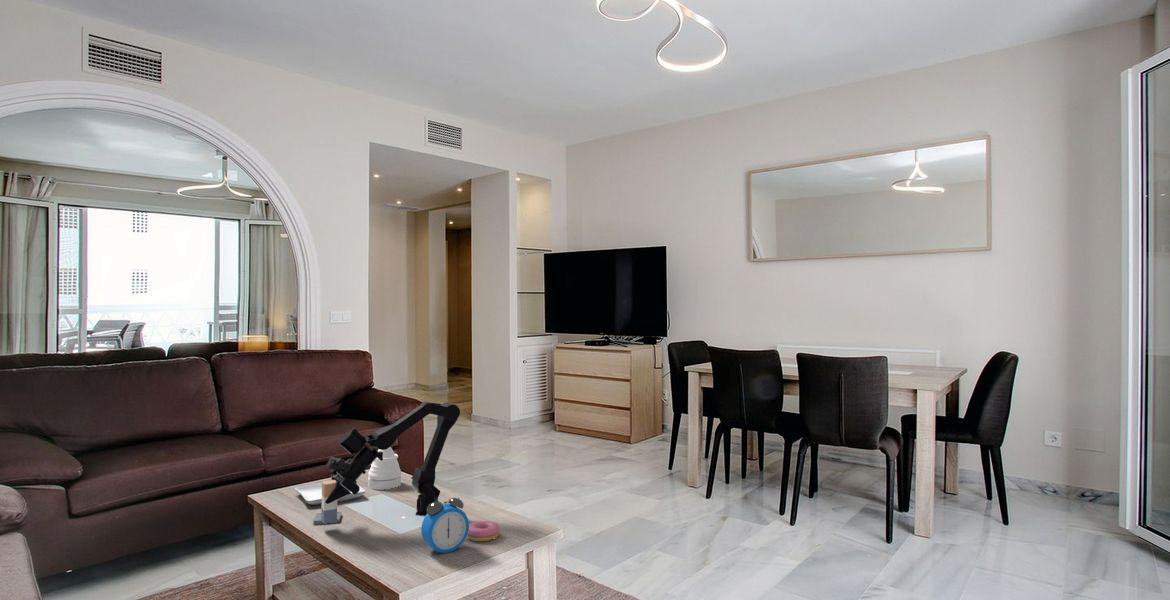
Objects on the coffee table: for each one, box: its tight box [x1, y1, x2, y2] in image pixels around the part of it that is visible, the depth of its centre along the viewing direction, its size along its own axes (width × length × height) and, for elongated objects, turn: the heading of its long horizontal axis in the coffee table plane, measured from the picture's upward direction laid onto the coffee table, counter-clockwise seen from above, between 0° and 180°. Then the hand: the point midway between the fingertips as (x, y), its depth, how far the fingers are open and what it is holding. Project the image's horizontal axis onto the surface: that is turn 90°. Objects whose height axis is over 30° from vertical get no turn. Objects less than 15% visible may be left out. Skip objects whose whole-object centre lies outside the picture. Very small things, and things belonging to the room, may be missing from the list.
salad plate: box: [294, 482, 366, 506], centre depth 238 cm, size 21×21×3 cm
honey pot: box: [367, 446, 402, 491], centre depth 254 cm, size 13×13×18 cm
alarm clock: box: [420, 497, 470, 556], centre depth 187 cm, size 13×6×15 cm, turn 128°
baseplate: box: [312, 511, 343, 525], centre depth 212 cm, size 8×8×1 cm
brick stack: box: [321, 480, 338, 525], centre depth 203 cm, size 4×4×13 cm
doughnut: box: [466, 520, 501, 542], centre depth 199 cm, size 11×11×4 cm
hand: (324, 501), depth 202 cm, fingers closed on brick stack, 4 cm apart
